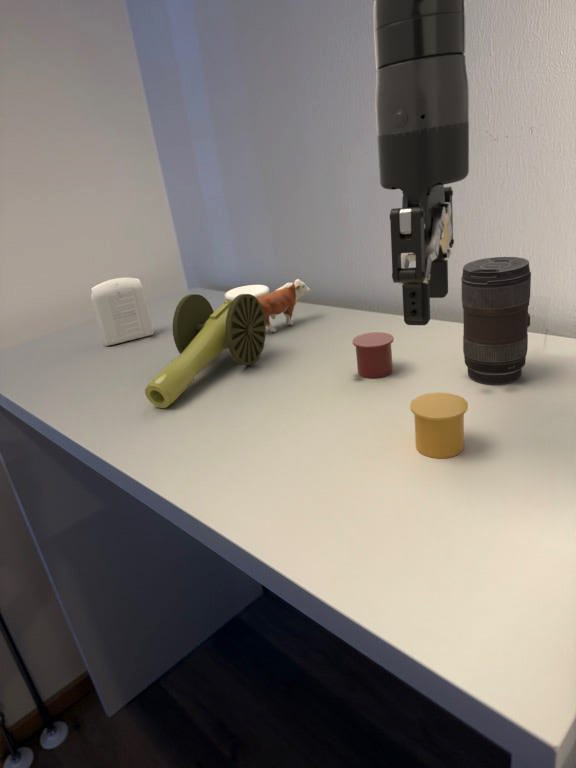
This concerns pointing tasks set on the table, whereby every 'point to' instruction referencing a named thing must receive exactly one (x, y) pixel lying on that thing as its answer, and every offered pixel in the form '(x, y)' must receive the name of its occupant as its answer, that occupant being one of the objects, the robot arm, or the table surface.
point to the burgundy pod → (374, 354)
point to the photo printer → (121, 310)
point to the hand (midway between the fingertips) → (427, 309)
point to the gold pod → (439, 424)
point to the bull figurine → (282, 301)
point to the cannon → (208, 341)
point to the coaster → (247, 291)
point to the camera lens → (496, 318)
